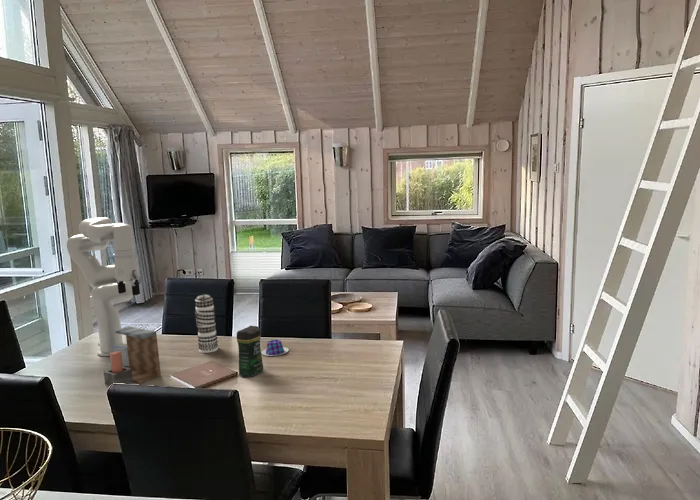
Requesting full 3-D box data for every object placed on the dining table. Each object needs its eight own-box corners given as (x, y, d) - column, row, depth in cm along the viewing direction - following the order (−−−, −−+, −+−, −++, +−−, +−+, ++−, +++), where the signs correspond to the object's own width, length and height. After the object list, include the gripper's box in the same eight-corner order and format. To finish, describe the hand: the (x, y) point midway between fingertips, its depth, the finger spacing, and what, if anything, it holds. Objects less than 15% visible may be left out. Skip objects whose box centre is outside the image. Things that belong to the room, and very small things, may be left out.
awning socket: (97, 381, 216) (91, 337, 214) (133, 368, 230) (128, 326, 227) (124, 390, 206) (119, 343, 204) (160, 375, 220) (156, 331, 217)
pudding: (282, 346, 249) (281, 335, 248) (293, 353, 239) (292, 341, 238) (257, 352, 243) (256, 340, 242) (267, 359, 233) (266, 347, 232)
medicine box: (135, 363, 236) (133, 343, 235) (128, 367, 232) (126, 347, 231) (120, 362, 239) (118, 342, 237) (113, 365, 234) (111, 346, 233)
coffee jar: (252, 378, 211) (248, 331, 208) (236, 376, 214) (232, 330, 212) (267, 369, 220) (263, 324, 217) (250, 367, 223) (247, 323, 220)
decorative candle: (223, 347, 251) (218, 294, 247) (208, 354, 243) (203, 299, 239) (209, 345, 256) (204, 292, 252) (193, 351, 248) (188, 297, 244)
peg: (111, 383, 214) (107, 353, 212) (120, 380, 217) (117, 350, 215) (117, 385, 212) (113, 355, 210) (126, 381, 215) (123, 352, 213)
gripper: (104, 254, 232) (109, 294, 234) (129, 256, 222) (134, 297, 225) (120, 251, 238) (124, 290, 240) (145, 253, 228) (149, 293, 231)
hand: (129, 293), depth 232 cm, fingers open, 9 cm apart
